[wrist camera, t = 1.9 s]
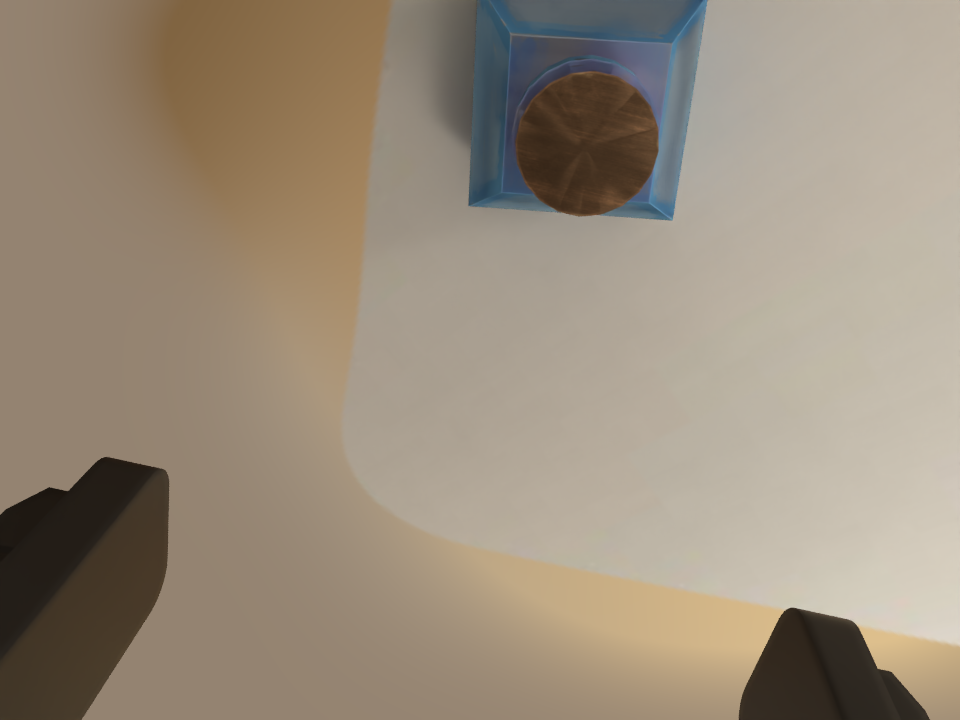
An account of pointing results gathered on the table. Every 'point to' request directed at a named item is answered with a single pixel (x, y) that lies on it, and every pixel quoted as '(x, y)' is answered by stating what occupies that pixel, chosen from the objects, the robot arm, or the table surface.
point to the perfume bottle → (582, 104)
